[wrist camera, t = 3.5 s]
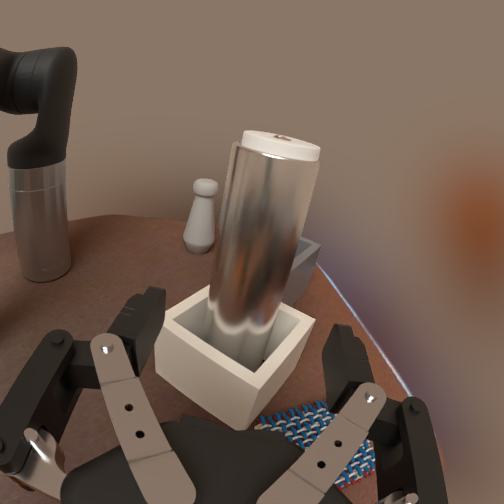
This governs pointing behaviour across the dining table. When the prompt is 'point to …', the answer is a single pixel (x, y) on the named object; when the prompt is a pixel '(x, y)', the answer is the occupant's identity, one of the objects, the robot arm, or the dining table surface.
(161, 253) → the dining table surface
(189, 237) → the salt shaker
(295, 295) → the grey open box
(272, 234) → the silver tall cylinder
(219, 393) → the white open box
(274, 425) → the woven mat
